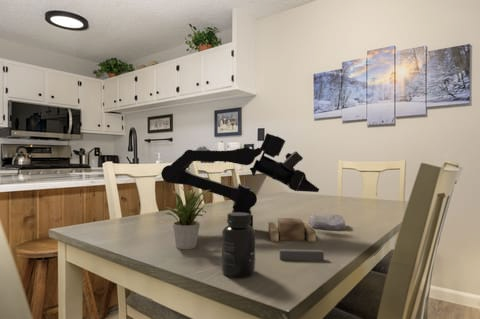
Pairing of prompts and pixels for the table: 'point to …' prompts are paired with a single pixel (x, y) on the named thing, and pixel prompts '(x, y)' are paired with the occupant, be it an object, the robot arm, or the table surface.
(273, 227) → the oak chute
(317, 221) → the stone block
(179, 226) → the house plant
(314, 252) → the bar
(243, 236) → the supplement bottle
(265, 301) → the table surface
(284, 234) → the walnut block
